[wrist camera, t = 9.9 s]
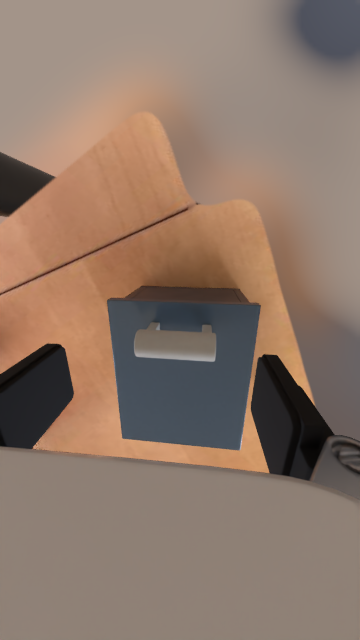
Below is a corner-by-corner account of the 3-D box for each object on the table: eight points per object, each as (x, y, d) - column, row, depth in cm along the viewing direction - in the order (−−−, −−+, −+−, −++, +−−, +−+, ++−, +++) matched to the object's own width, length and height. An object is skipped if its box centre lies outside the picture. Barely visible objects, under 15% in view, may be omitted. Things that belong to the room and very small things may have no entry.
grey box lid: (110, 297, 17) (77, 316, 13) (258, 302, 16) (279, 324, 11) (124, 432, 22) (104, 480, 17) (239, 443, 21) (248, 498, 16)
